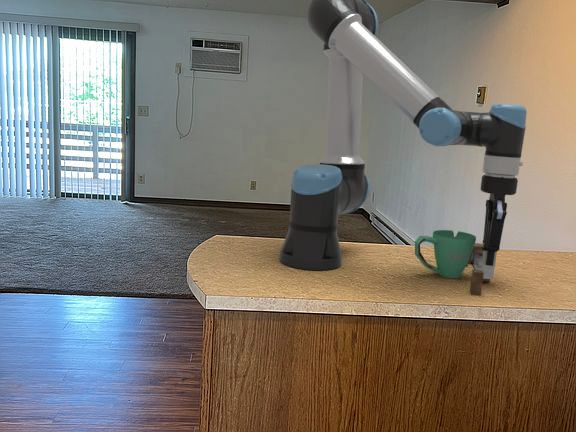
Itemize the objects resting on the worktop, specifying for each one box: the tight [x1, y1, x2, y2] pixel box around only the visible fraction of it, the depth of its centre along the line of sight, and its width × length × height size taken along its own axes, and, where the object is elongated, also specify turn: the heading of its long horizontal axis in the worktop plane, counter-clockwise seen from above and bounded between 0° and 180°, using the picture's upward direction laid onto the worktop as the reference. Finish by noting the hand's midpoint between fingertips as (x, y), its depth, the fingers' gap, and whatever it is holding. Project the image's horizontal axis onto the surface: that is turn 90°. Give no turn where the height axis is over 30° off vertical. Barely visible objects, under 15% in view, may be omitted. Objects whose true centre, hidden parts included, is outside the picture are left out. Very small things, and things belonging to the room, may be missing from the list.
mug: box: [414, 229, 477, 279], centre depth 133 cm, size 15×10×10 cm
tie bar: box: [471, 253, 491, 283], centre depth 142 cm, size 2×26×2 cm, turn 169°
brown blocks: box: [465, 242, 484, 297], centre depth 134 cm, size 7×32×5 cm, turn 169°
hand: (486, 277), depth 129 cm, fingers closed
